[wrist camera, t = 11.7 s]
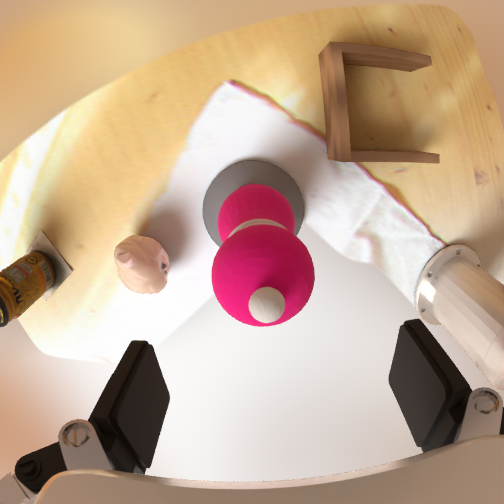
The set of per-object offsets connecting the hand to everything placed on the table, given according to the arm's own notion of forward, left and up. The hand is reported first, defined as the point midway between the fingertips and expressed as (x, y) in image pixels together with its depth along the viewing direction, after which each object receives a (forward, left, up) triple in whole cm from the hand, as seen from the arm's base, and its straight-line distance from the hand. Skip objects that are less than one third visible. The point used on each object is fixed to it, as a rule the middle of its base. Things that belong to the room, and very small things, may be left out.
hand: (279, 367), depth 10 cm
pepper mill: (0, 0, -24) cm, 24 cm away
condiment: (+25, +19, -25) cm, 40 cm away
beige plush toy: (+10, +10, -25) cm, 28 cm away
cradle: (-6, -17, -24) cm, 30 cm away
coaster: (+1, 0, -24) cm, 24 cm away
